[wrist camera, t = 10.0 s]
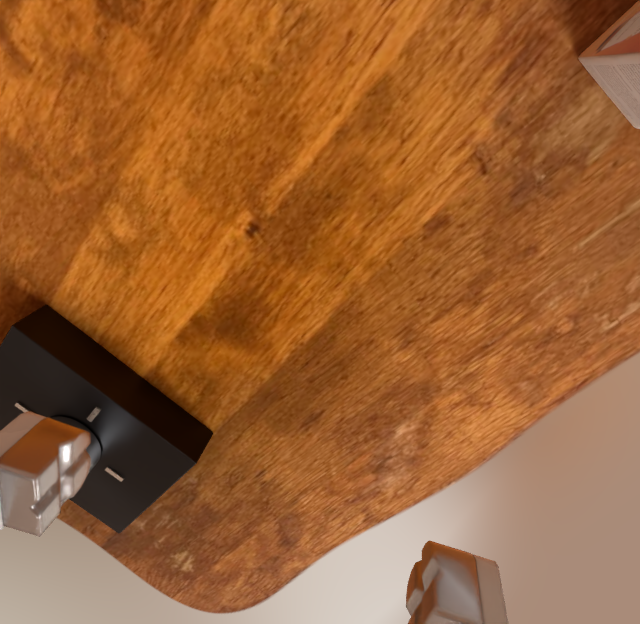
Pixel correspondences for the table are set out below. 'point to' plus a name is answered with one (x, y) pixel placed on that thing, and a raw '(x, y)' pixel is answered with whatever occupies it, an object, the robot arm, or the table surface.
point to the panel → (99, 414)
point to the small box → (618, 63)
